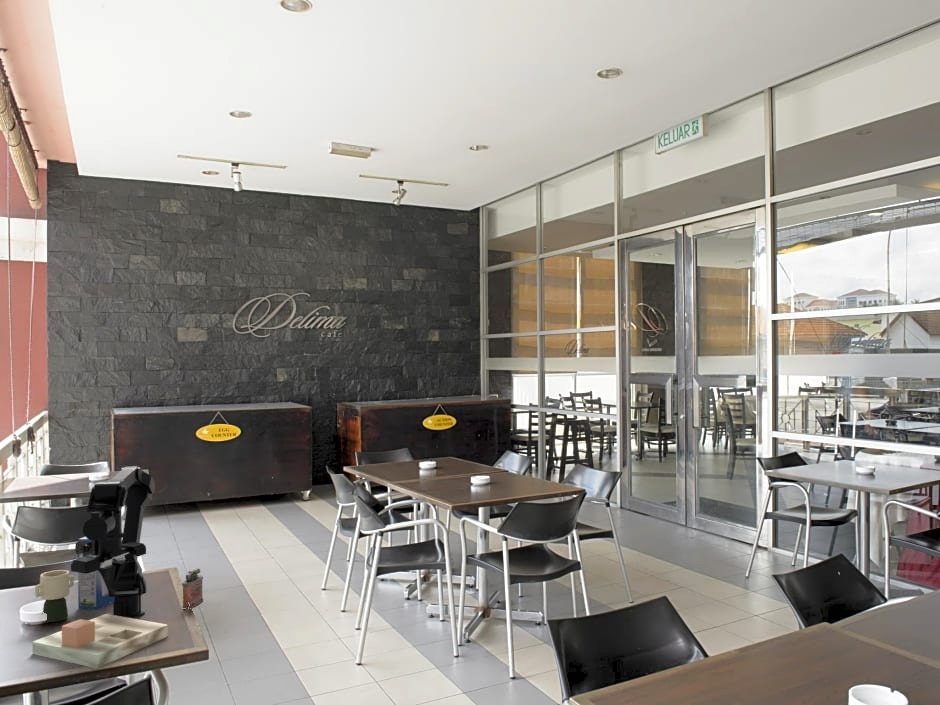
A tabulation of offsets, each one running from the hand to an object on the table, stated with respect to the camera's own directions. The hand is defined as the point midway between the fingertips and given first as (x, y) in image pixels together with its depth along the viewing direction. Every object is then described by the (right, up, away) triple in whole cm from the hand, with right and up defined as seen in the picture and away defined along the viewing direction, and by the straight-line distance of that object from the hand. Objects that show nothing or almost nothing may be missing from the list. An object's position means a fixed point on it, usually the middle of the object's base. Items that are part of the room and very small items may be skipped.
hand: (110, 589), depth 190 cm
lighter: (+13, -12, +22) cm, 29 cm away
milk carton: (-16, -12, +25) cm, 32 cm away
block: (-1, -9, -13) cm, 16 cm away
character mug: (-21, -12, +11) cm, 26 cm away
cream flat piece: (+1, -12, -7) cm, 13 cm away
